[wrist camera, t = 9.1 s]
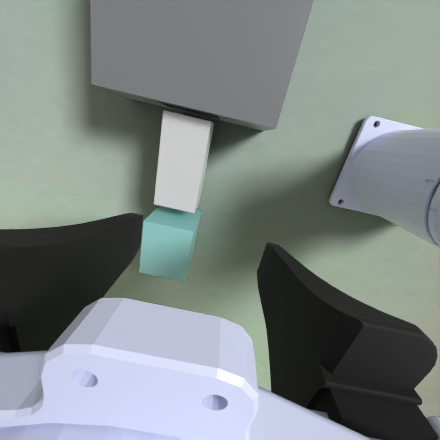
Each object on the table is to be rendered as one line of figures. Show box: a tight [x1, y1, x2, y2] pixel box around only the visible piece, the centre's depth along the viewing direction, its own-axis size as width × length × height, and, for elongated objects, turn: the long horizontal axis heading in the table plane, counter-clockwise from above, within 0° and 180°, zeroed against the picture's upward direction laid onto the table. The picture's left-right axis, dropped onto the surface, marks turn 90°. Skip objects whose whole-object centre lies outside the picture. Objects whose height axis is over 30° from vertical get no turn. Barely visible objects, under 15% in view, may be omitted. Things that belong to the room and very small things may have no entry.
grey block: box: [90, 0, 313, 131], centre depth 14 cm, size 12×10×5 cm
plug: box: [139, 110, 214, 282], centre depth 18 cm, size 4×13×5 cm, turn 167°
